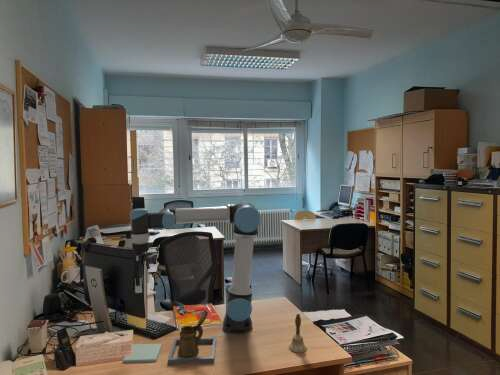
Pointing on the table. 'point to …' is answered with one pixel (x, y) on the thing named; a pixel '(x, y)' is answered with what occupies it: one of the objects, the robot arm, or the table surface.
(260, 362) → the table surface
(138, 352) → the coaster
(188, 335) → the wooden mug
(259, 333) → the table surface
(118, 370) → the table surface
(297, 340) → the hand bell
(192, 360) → the frame
